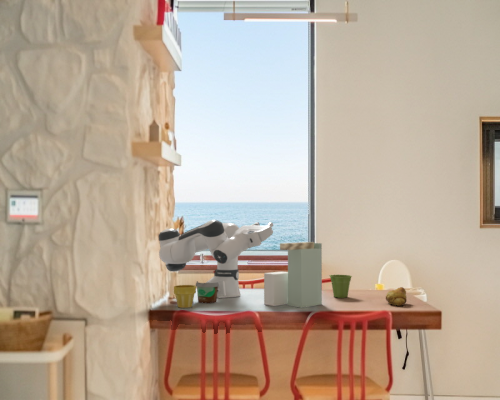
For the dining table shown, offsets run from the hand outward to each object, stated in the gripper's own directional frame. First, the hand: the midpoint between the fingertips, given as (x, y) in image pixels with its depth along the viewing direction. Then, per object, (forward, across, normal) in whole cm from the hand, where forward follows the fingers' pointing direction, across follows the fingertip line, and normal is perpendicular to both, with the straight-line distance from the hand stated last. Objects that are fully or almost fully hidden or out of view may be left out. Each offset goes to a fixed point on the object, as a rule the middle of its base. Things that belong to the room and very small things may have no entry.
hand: (265, 223), depth 237 cm
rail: (+10, +3, -19) cm, 22 cm away
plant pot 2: (+29, -2, -60) cm, 67 cm away
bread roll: (+32, +30, -62) cm, 76 cm away
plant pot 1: (-40, -29, -23) cm, 55 cm away
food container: (-28, -33, -30) cm, 52 cm away
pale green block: (+1, +3, -45) cm, 45 cm away
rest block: (-6, -7, -42) cm, 43 cm away
